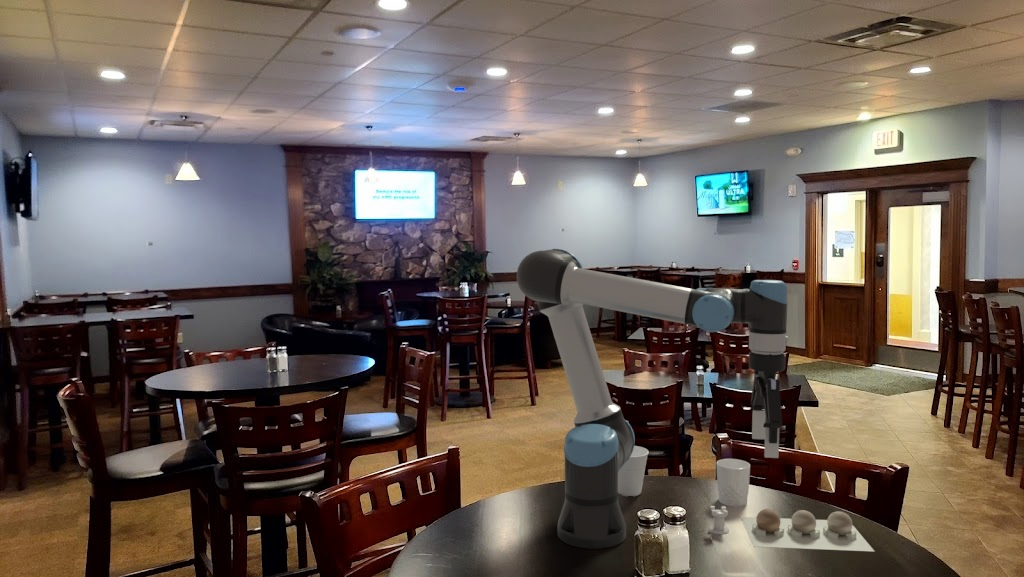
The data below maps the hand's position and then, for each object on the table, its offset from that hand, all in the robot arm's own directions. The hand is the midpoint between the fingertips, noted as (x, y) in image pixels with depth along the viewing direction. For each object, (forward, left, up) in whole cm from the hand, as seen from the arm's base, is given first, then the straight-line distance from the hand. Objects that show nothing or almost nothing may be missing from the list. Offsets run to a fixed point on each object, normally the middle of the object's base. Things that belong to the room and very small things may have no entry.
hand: (764, 447), depth 159 cm
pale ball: (+16, -1, -19) cm, 25 cm away
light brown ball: (+1, -1, -19) cm, 19 cm away
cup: (-29, +22, -19) cm, 41 cm away
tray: (+8, -1, -19) cm, 21 cm away
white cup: (-4, +17, -19) cm, 27 cm away
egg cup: (-10, -1, -19) cm, 22 cm away
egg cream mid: (+8, -1, -19) cm, 20 cm away
